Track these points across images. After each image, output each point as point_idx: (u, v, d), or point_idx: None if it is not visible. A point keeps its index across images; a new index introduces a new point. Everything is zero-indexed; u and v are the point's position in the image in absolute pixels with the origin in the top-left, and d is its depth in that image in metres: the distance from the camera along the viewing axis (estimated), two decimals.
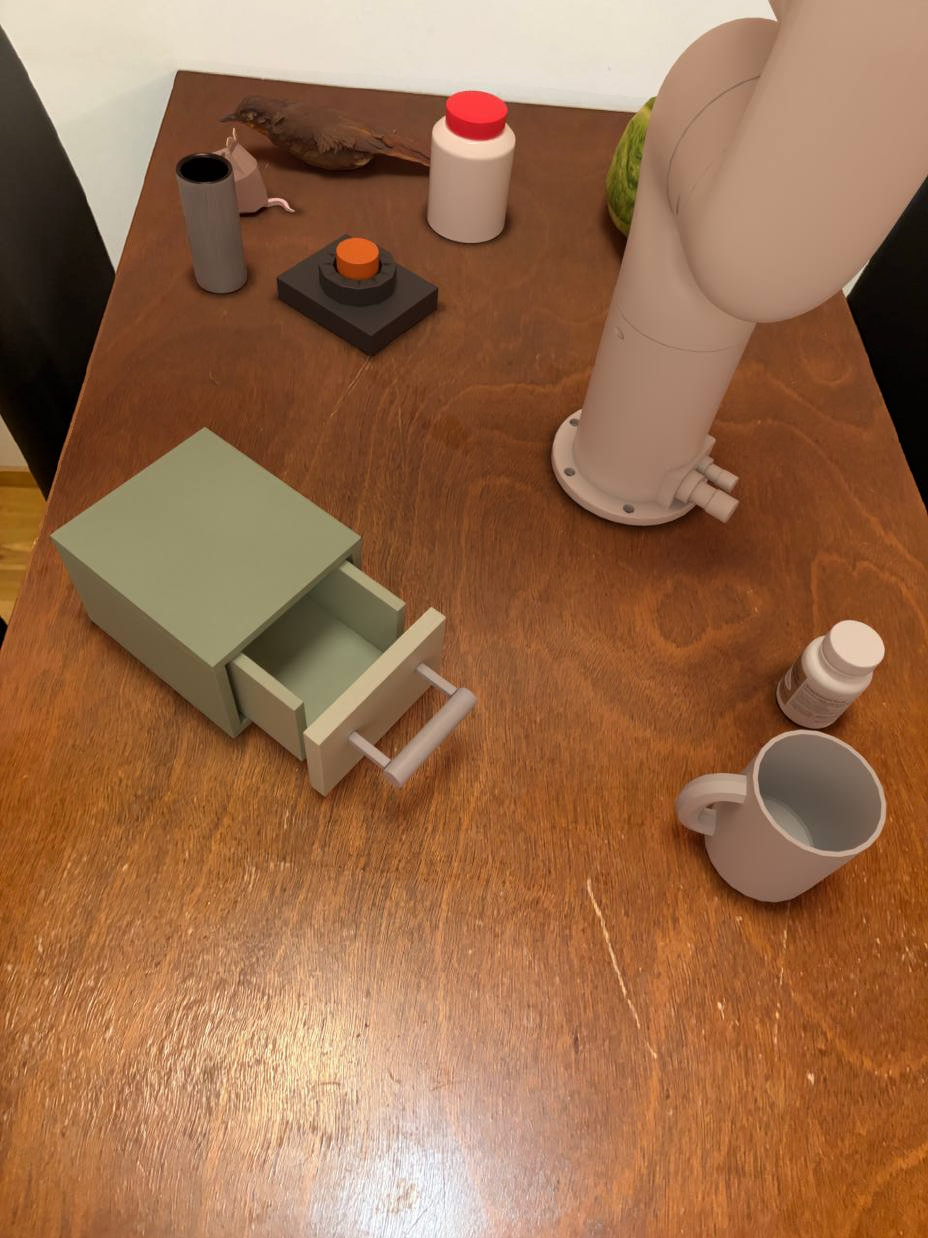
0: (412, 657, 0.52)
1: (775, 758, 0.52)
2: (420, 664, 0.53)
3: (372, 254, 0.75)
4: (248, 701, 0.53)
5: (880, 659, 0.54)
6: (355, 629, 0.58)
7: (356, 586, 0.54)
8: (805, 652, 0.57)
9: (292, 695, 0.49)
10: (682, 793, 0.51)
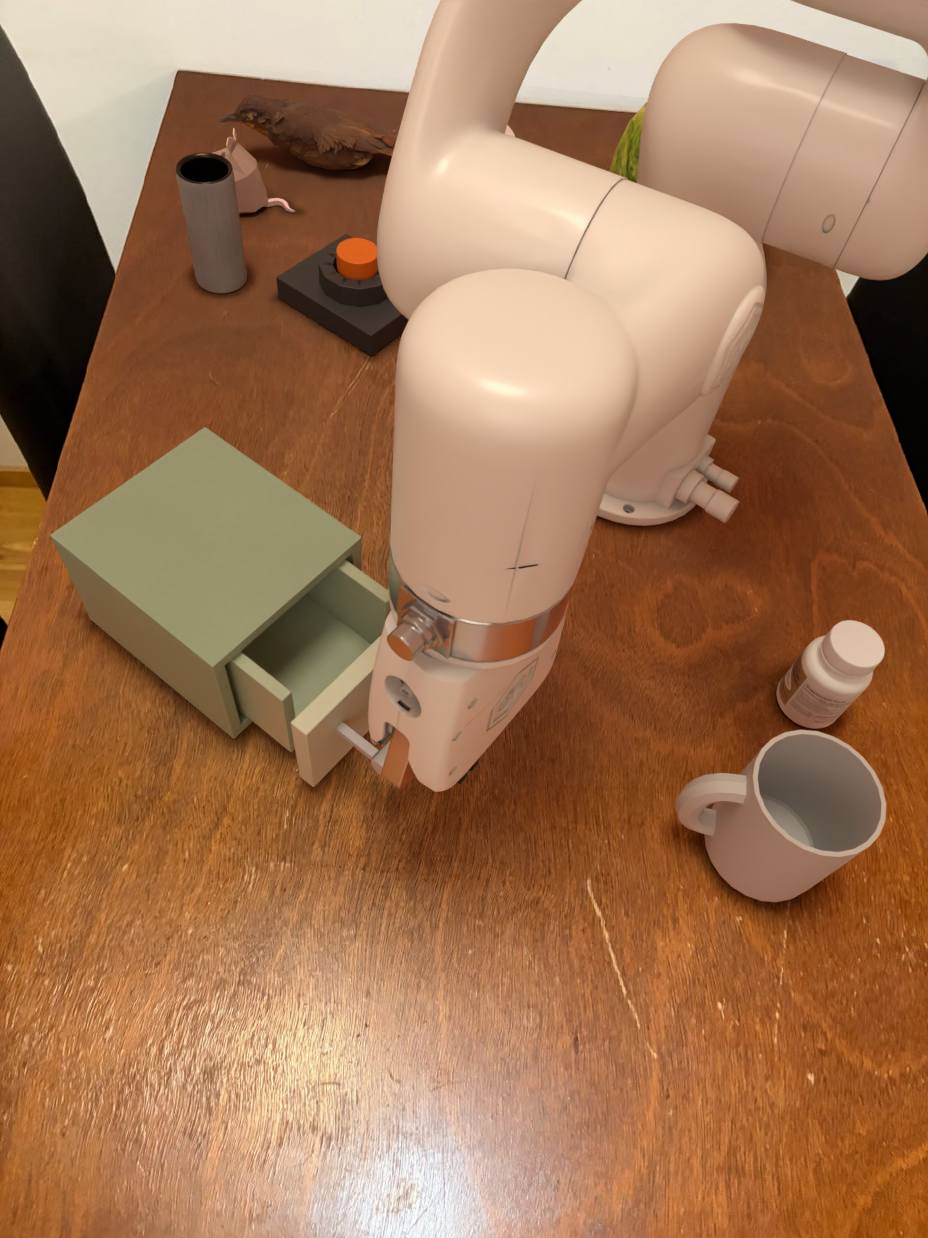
0: None
1: (775, 758, 0.52)
2: None
3: (372, 254, 0.75)
4: (237, 692, 0.53)
5: (880, 659, 0.54)
6: (345, 622, 0.59)
7: (345, 578, 0.54)
8: (805, 652, 0.57)
9: (280, 685, 0.49)
10: (682, 793, 0.51)
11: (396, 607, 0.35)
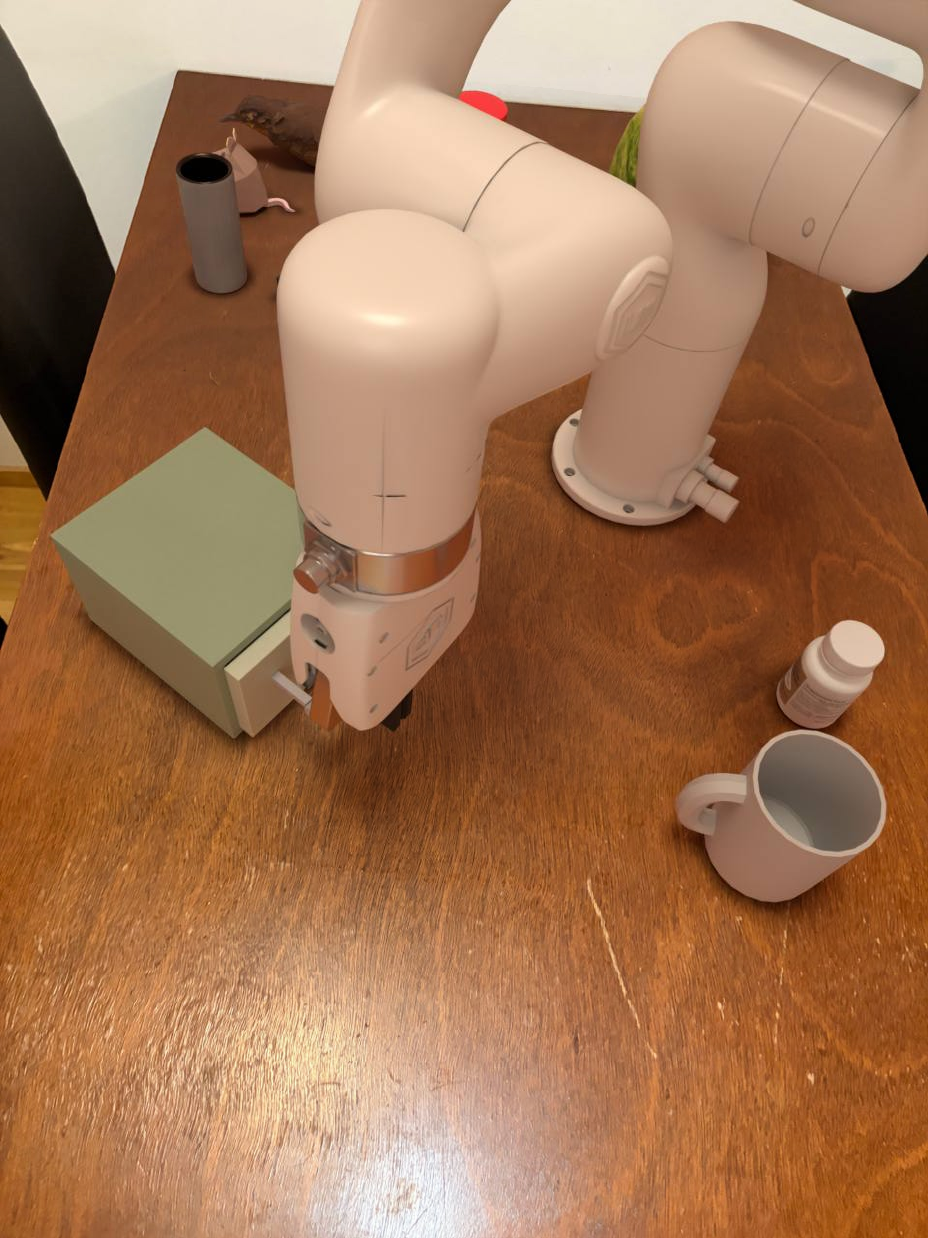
0: None
1: (775, 758, 0.52)
2: None
3: None
4: None
5: (880, 659, 0.54)
6: None
7: None
8: (805, 652, 0.57)
9: None
10: (682, 793, 0.51)
11: (305, 546, 0.37)
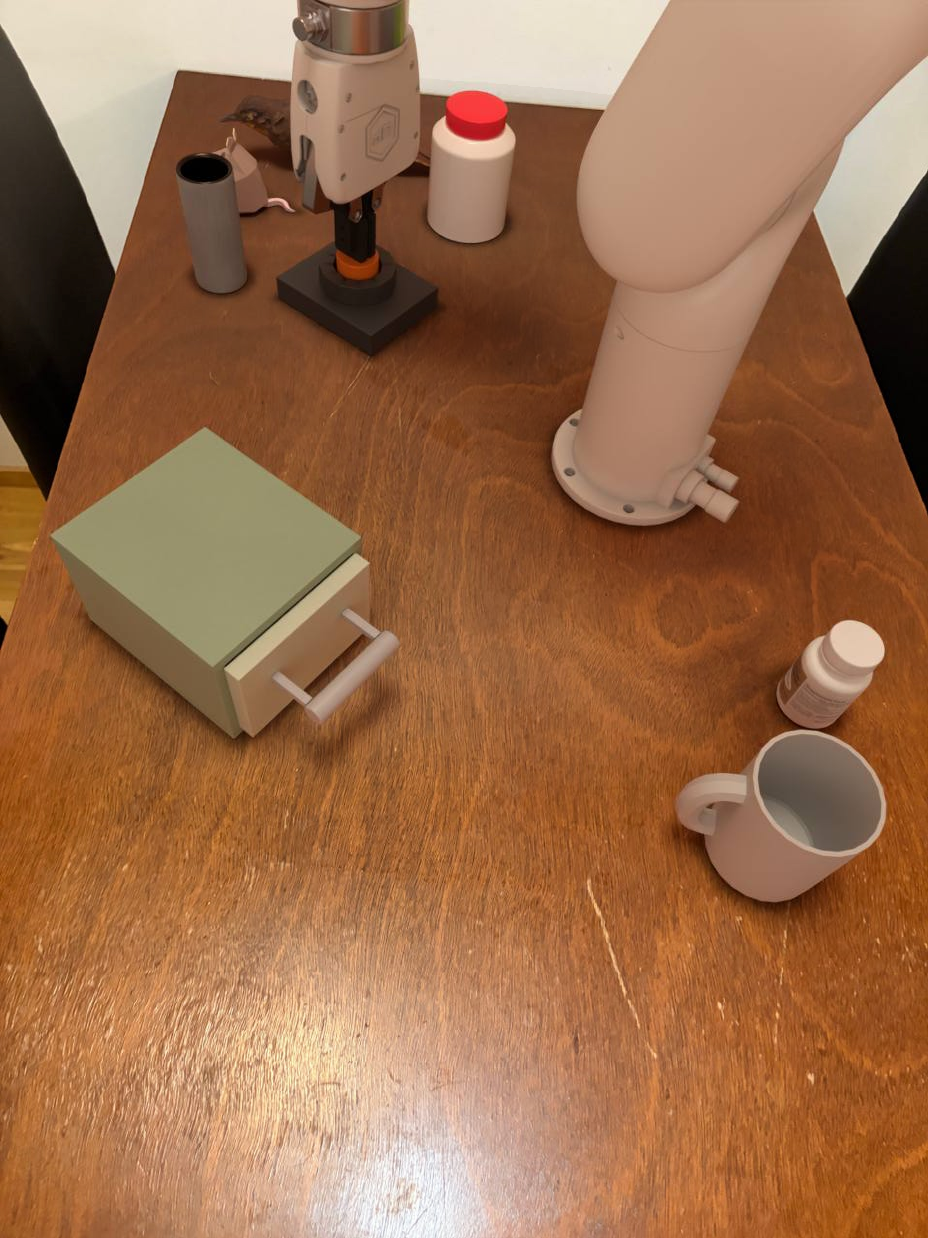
0: (335, 600, 0.53)
1: (775, 758, 0.52)
2: (345, 609, 0.55)
3: (372, 258, 0.76)
4: None
5: (880, 659, 0.54)
6: None
7: None
8: (805, 652, 0.57)
9: None
10: (682, 793, 0.51)
11: None
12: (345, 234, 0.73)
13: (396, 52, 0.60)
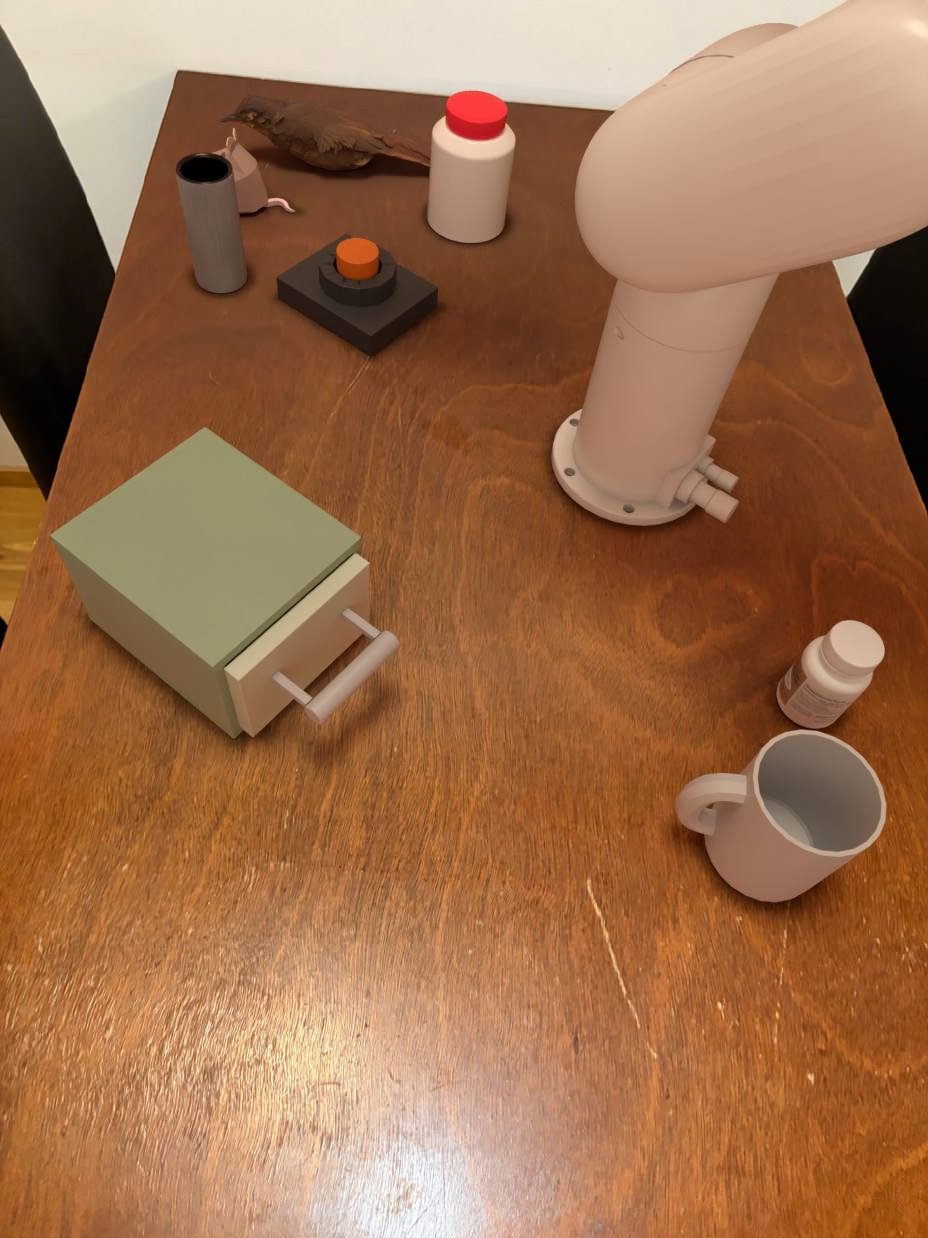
0: (335, 600, 0.53)
1: (775, 758, 0.52)
2: (345, 609, 0.55)
3: (372, 254, 0.75)
4: None
5: (880, 659, 0.54)
6: None
7: None
8: (805, 652, 0.57)
9: None
10: (682, 793, 0.51)
11: None
12: None
13: None
